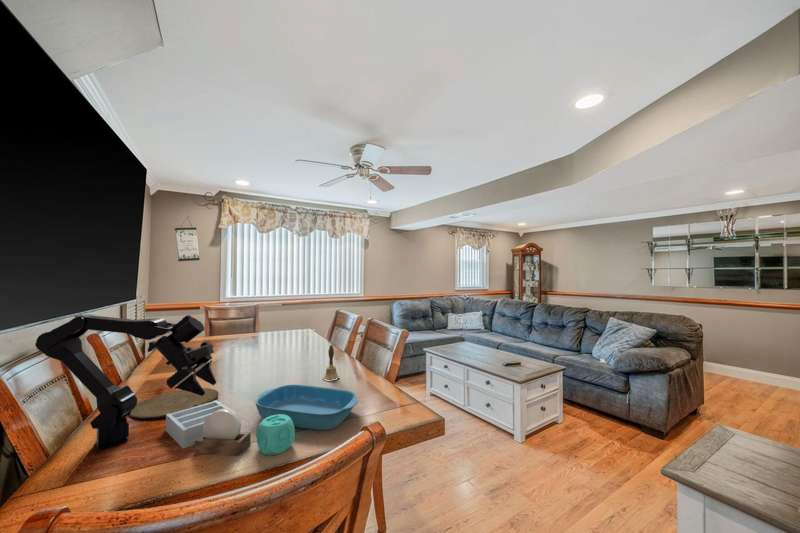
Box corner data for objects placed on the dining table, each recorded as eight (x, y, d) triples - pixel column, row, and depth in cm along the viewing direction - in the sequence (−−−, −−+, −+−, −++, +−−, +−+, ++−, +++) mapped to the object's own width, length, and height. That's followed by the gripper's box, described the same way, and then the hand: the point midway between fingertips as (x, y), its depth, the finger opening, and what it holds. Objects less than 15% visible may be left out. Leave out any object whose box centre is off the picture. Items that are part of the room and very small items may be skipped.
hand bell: (319, 380, 151) (319, 346, 151) (327, 375, 159) (328, 343, 159) (334, 382, 148) (335, 348, 149) (342, 376, 156) (343, 344, 156)
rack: (183, 448, 92) (183, 430, 92) (165, 430, 102) (166, 414, 102) (236, 429, 103) (236, 413, 103) (216, 414, 114) (216, 400, 114)
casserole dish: (366, 409, 120) (366, 390, 120) (341, 439, 98) (342, 416, 98) (281, 399, 129) (281, 381, 129) (241, 424, 107) (241, 403, 107)
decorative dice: (281, 437, 98) (281, 411, 98) (295, 447, 93) (295, 419, 93) (255, 448, 92) (256, 420, 92) (268, 458, 87) (269, 429, 87)
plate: (237, 446, 90) (234, 411, 91) (204, 448, 91) (201, 413, 91) (242, 441, 93) (239, 407, 93) (209, 443, 93) (207, 409, 94)
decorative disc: (178, 384, 140) (237, 385, 134) (178, 391, 140) (237, 393, 134) (106, 411, 112) (177, 415, 106) (106, 421, 112) (177, 425, 106)
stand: (194, 453, 89) (195, 440, 89) (209, 442, 95) (209, 430, 95) (238, 455, 88) (239, 442, 89) (250, 444, 94) (250, 432, 94)
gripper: (184, 341, 91) (221, 381, 92) (209, 329, 109) (239, 363, 111) (149, 367, 89) (187, 408, 91) (180, 351, 107) (212, 385, 109)
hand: (209, 389), depth 100 cm, fingers open, 9 cm apart
